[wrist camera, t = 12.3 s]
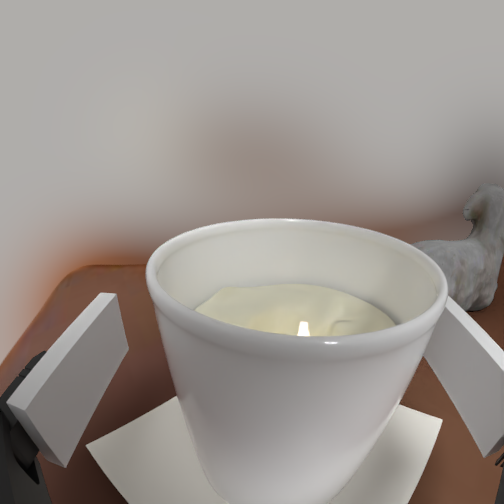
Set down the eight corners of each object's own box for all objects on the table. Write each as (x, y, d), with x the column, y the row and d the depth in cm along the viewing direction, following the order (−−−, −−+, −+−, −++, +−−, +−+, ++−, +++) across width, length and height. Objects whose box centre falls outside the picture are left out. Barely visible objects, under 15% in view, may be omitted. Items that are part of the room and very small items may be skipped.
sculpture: (504, 301, 30) (528, 192, 25) (423, 357, 22) (463, 183, 17) (449, 273, 39) (464, 176, 34) (351, 305, 32) (366, 165, 27)
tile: (439, 425, 15) (442, 419, 15) (304, 632, 4) (306, 633, 3) (258, 348, 25) (258, 343, 25) (88, 450, 13) (85, 445, 13)
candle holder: (397, 465, 12) (486, 270, 8) (246, 563, 8) (242, 422, 4) (296, 379, 20) (312, 210, 16) (164, 429, 15) (123, 236, 11)
